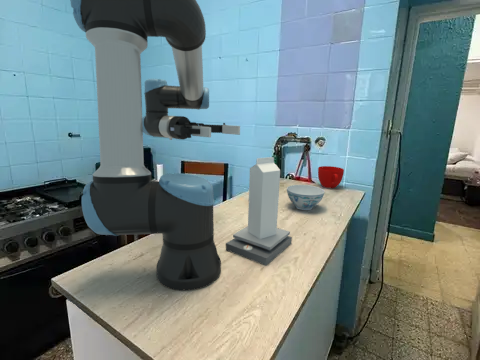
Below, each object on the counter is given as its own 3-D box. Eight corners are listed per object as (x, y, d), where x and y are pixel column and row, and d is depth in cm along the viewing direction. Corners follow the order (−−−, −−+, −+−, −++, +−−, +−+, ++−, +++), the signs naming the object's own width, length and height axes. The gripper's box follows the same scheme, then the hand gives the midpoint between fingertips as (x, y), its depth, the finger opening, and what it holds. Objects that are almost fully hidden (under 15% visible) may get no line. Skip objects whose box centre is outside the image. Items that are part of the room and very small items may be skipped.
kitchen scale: (266, 265, 68) (266, 251, 67) (225, 249, 75) (226, 237, 74) (291, 243, 80) (292, 231, 79) (254, 231, 87) (255, 220, 86)
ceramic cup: (321, 191, 133) (323, 172, 131) (314, 183, 150) (315, 165, 147) (348, 192, 133) (350, 173, 131) (337, 184, 149) (339, 166, 147)
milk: (276, 234, 76) (282, 158, 71) (259, 239, 73) (264, 160, 68) (263, 227, 81) (267, 155, 76) (246, 231, 78) (250, 156, 73)
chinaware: (284, 211, 105) (285, 192, 103) (286, 200, 119) (288, 183, 118) (323, 215, 102) (325, 196, 100) (321, 203, 116) (323, 186, 114)
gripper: (202, 136, 101) (249, 141, 89) (144, 141, 81) (195, 147, 69) (201, 116, 99) (249, 118, 87) (143, 115, 79) (194, 118, 67)
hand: (225, 131), depth 78 cm, fingers open, 13 cm apart
